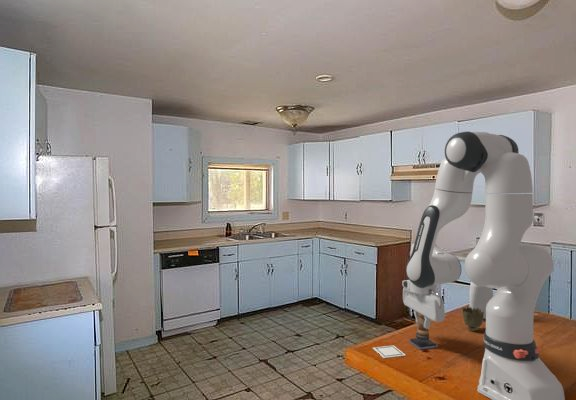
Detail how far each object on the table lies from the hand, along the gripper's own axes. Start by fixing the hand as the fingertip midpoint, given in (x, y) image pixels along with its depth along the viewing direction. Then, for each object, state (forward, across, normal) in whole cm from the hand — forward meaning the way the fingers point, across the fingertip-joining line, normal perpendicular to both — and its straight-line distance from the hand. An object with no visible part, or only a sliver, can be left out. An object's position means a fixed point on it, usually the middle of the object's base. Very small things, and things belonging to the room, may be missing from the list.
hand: (422, 325), depth 131 cm
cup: (+7, +7, -27) cm, 28 cm away
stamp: (+4, 0, 0) cm, 4 cm away
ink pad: (+7, 0, 0) cm, 7 cm away
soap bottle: (+7, +18, -41) cm, 45 cm away
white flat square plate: (+7, -3, +14) cm, 16 cm away
